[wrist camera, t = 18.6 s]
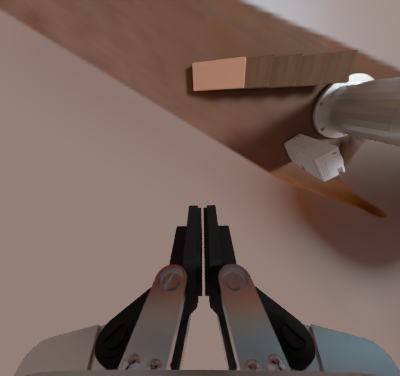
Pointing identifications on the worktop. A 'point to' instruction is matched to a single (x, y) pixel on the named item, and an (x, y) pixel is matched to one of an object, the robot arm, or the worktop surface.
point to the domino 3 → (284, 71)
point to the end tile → (219, 74)
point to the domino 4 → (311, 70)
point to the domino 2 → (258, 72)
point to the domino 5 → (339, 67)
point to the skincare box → (315, 156)
